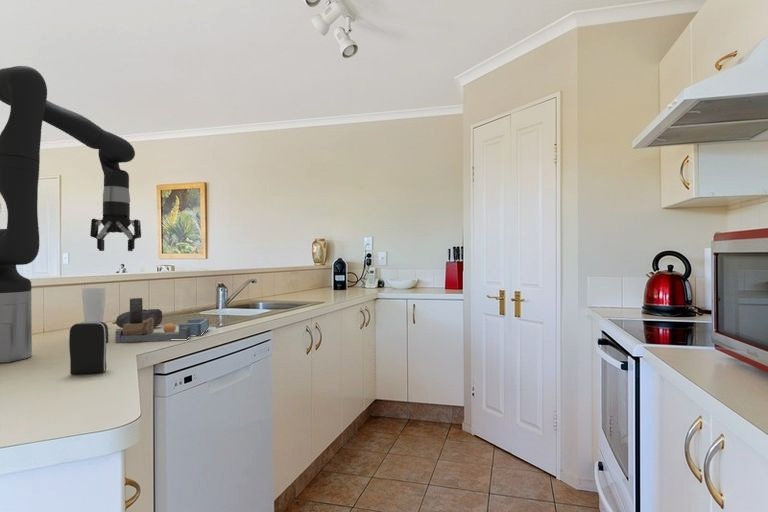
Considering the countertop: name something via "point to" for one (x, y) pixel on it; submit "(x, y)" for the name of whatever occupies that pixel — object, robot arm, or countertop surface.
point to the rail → (152, 336)
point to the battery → (88, 347)
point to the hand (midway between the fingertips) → (116, 251)
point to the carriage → (137, 320)
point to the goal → (196, 326)
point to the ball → (169, 327)
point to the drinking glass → (93, 303)
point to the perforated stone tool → (147, 314)
